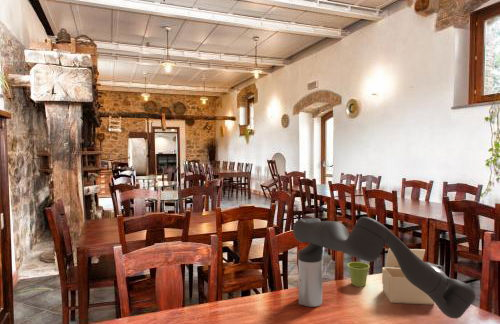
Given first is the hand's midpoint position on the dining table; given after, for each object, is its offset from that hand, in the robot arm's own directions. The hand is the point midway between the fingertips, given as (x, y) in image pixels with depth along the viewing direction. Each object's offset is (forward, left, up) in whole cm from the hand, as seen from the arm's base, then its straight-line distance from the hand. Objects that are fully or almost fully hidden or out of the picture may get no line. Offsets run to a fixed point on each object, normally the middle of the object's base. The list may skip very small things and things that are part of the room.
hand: (414, 261), depth 132 cm
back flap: (0, +14, -7) cm, 15 cm away
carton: (0, +8, -17) cm, 19 cm away
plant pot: (-17, +20, -18) cm, 32 cm away
